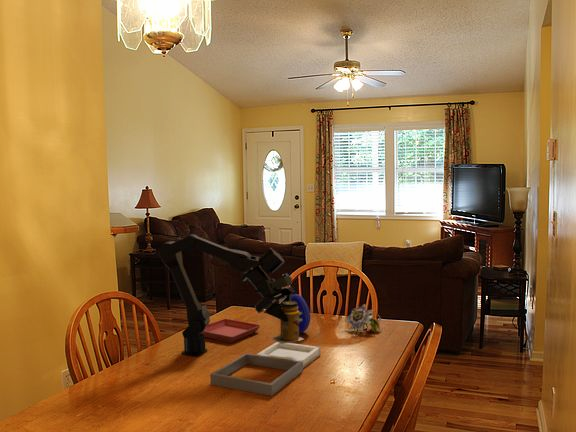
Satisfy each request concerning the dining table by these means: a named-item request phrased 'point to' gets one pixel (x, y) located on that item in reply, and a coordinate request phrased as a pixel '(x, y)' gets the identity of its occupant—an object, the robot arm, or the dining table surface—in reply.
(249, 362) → the gray square frame
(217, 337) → the plant saucer
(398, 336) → the dining table surface
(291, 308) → the condiment
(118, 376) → the dining table surface
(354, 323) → the passion flower
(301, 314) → the ornament
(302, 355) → the tray
